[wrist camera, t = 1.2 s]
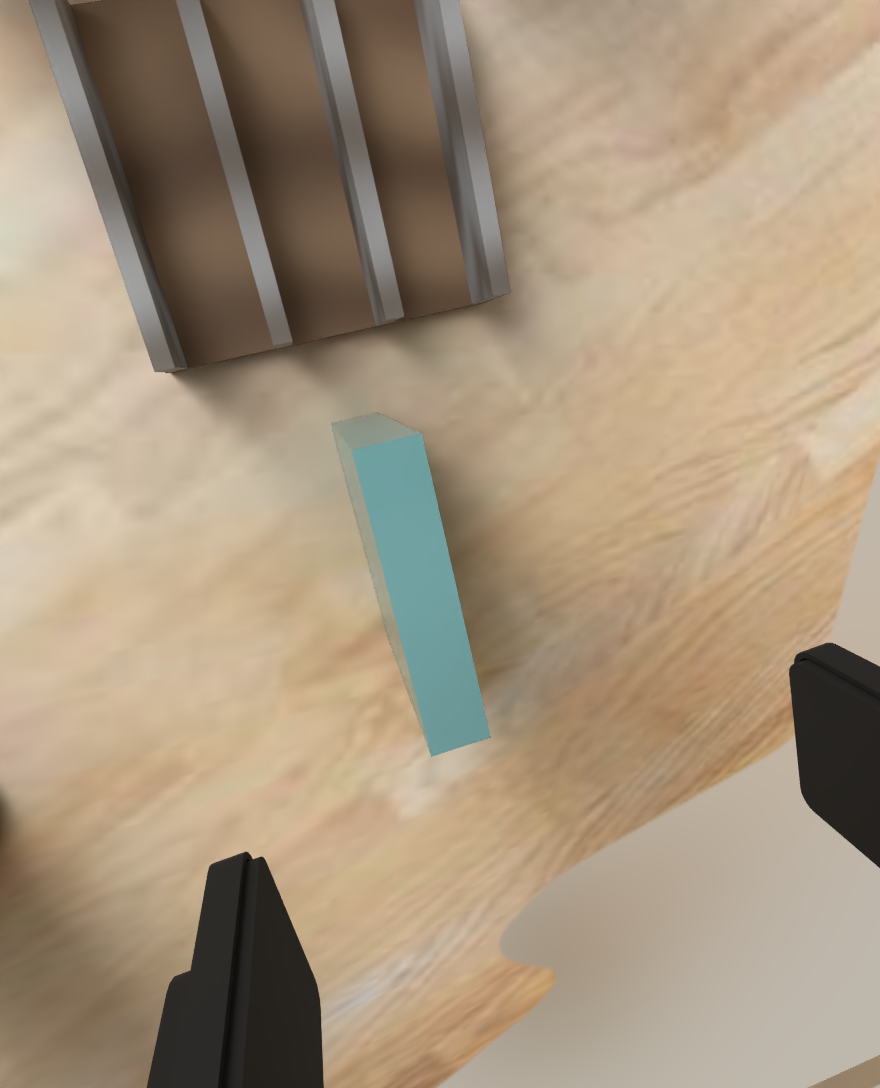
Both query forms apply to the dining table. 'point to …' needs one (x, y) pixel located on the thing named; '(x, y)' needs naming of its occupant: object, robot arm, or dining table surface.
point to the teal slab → (412, 576)
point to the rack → (279, 165)
